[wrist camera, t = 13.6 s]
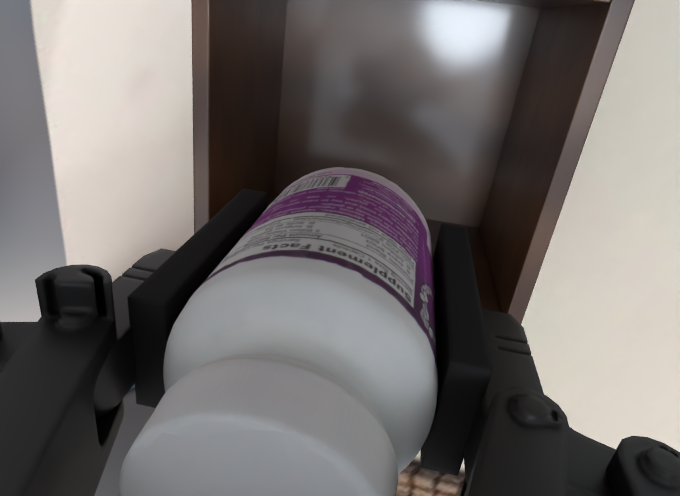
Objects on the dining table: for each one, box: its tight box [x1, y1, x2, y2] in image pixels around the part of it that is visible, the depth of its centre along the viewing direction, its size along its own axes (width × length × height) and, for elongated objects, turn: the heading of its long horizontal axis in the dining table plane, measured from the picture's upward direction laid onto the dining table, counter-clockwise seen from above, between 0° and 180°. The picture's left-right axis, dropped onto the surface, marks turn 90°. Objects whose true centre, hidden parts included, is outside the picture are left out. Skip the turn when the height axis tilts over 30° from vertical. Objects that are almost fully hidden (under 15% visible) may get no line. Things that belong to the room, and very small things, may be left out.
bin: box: [192, 0, 635, 325], centre depth 27 cm, size 16×17×13 cm
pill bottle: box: [119, 167, 438, 496], centre depth 11 cm, size 5×5×10 cm
